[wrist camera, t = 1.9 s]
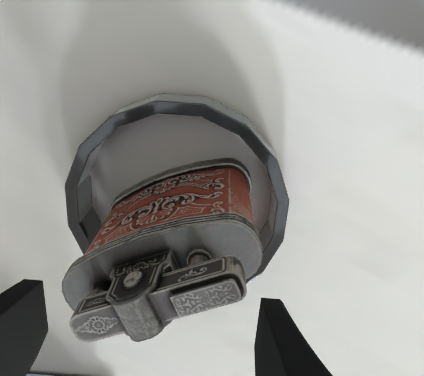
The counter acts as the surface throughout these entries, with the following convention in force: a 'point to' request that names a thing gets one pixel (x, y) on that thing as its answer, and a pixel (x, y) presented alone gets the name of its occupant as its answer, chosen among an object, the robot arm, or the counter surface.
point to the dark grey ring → (178, 105)
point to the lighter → (166, 252)
